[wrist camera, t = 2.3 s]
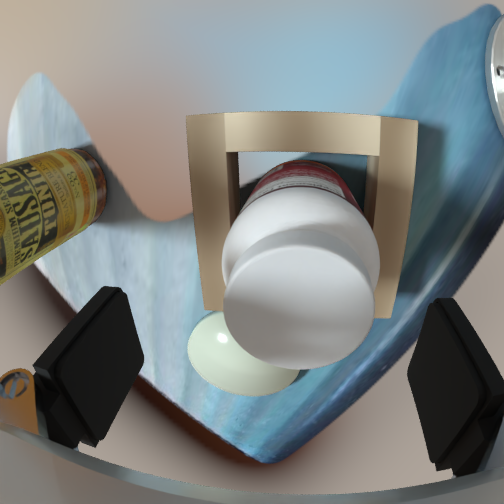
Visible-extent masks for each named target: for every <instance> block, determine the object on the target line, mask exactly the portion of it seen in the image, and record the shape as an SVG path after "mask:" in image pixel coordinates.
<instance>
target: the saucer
mask: <svg viewBox="0 0 504 504" xmlns="http://www.w3.org/2000/svg"><path fill="white" fill-rule="evenodd" d="M188 355H189V359H190V361H191V363H192V365H193V367H194V368H195V370H196V371H197V372H198V373H199V374H200V375H201V376H202V377H203V378H204V379H205V380H206V381H208V382H209V383H210V384H212V385H214V386H215V387H217V388H219V389H221V390H224V391H226V392H229V393H233V394H237V395H243V396H264V395H269V394H273V393H276V392H278V391H281V390H283V389H284V388H286V387H288V386H289V385H290V384H291V383H292V382H293V381H294V380H295V379H296V377H297V376H298V374H299V371H300V370H297V369H287V368H281V367H277V366H274V365H270V364H268V363H265V362H263V361H261V360H259V359H257V358H255V357H253V356H252V355H250V354H249V353H248V352H246V351H245V350H244V349H243V348H242V347H241V346H240V345H239V344H238V343H237V342H236V341H235V340H234V338H233V337H232V335H231V334H230V332H229V330H228V327H227V325H226V322H225V319H224V314H223V311H213V312H211V313H209V314H207V315H206V316H204V317H203V318H202V319H201V320H200V321H199V322H198V323H197V324H196V326H195V328H194V330H193V332H192V334H191V336H190V338H189V342H188Z"/></svg>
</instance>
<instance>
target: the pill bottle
mask: <svg viewBox="0 0 504 504" xmlns="http://www.w3.org/2000/svg"><path fill="white" fill-rule="evenodd" d="M379 271H380V256H379V249H378V245H377V241H376V239H375V236H374V234H373V231H372V229H371V227H370V225H369V223H368V221H367V219H366V218H365V216H364V214H363V212H362V210H361V209H360V207H359V205H358V204H357V202H356V200H355V198H354V197H353V195H352V193H351V191H350V189H349V188H348V186H347V185H346V183H345V182H344V180H343V179H342V178H341V177H340V176H339V175H338V174H337V173H336V172H335V171H333V170H332V169H331V168H329V167H327V166H325V165H323V164H321V163H318V162H315V161H310V160H293V161H288V162H285V163H282V164H280V165H278V166H276V167H274V168H272V169H271V170H270V171H268V172H267V173H266V174H265V175H264V176H263V177H262V178H261V179H260V180H259V182H258V183H257V185H256V186H255V188H254V190H253V191H252V193H251V195H250V196H249V198H248V200H247V201H246V203H245V205H244V207H243V208H242V210H241V211H240V213H239V215H238V216H237V218H236V220H235V221H234V223H233V225H232V227H231V229H230V231H229V233H228V235H227V237H226V240H225V243H224V247H223V252H222V273H223V278H224V282H225V285H226V290H225V294H224V299H223V314H224V319H225V322H226V325H227V327H228V330H229V332H230V334H231V335H232V337H233V338H234V340H235V341H236V342H237V343H238V344H239V345H240V346H241V347H242V348H243V349H244V350H245V351H246V352H248V353H249V354H250V355H252V356H253V357H255V358H257V359H259V360H261V361H263V362H265V363H268V364H270V365H274V366H277V367H281V368H287V369H297V370H301V369H313V368H319V367H323V366H327V365H330V364H332V363H335V362H337V361H339V360H341V359H343V358H345V357H346V356H348V355H349V354H351V353H352V352H353V351H354V350H355V349H357V348H358V346H359V345H360V344H361V343H362V342H363V341H364V339H365V338H366V336H367V335H368V333H369V331H370V329H371V327H372V324H373V320H374V316H375V297H374V291H375V288H376V285H377V282H378V278H379Z"/></svg>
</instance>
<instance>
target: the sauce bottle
mask: <svg viewBox="0 0 504 504" xmlns="http://www.w3.org/2000/svg"><path fill="white" fill-rule="evenodd" d="M106 194H107V187H106V180H105V179H104V173H103V171H102V170H101V167H100V166H99V165H98V163H97V162H96V160H94V158H93V157H91V155H90V154H88V153H87V152H86V151H82V150H78V149H65V148H61V149H56V150H52V151H48V152H44V153H40V154H36V155H32V156H29V157H25V158H21V159H17V160H14V161H10V162H7V163H3V164H1V165H0V285H1V284H3V283H4V282H6V281H7V280H8V279H10V278H11V277H12V276H14V275H15V274H17V273H18V272H20V271H21V270H23V269H24V268H26V267H27V266H29V265H30V264H32V263H33V262H35V261H36V260H37V259H39V258H40V257H42V256H43V255H45V254H47V253H48V252H50V251H51V250H53V249H55V248H56V247H58V246H59V245H61V244H63V243H64V242H66V241H67V240H69V239H71V238H72V237H74V236H76V235H77V234H79V233H80V232H82V231H84V230H85V229H86V228H87V227H88V226H90V225H91V224H92V223H93V222H95V221H96V220H97V219H98V217H99V216H100V215H101V214H102V211H103V209H104V207H105V203H106Z"/></svg>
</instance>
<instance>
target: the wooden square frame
mask: <svg viewBox="0 0 504 504" xmlns="http://www.w3.org/2000/svg"><path fill="white" fill-rule="evenodd" d="M186 128H187V142H188V155H189V156H188V157H189V170H190V182H191V193H192V203H193V215H194V225H195V234H196V244H197V253H198V261H199V270H200V278H201V286H202V294H203V301H204V309H205V310H212V311H223V299H224V294H225V290H226V285H225V282H224V278H223V273H222V252H223V247H224V243H225V240H226V237H227V235H228V233H229V231H230V229H231V227H232V225H233V223H234V221H235V220H236V218H237V216H238V215H239V213H240V188H239V165H238V152H250V151H253V152H254V151H281V152H284V151H285V152H322V153H343V154H359V155H367V173H366V188H365V202H364V213H363V214H364V216H365V218H366V219H367V221H368V223H369V225H370V227H371V229H372V231H373V234H374V236H375V239H376V241H377V245H378V249H379V256H380V271H379V278H378V282H377V285H376V288H375V291H374V297H375V316H374V318H391V314H392V309H393V305H394V301H395V297H396V292H397V287H398V283H399V278H400V273H401V268H402V263H403V257H404V252H405V246H406V240H407V234H408V227H409V220H410V213H411V205H412V197H413V188H414V178H415V167H416V153H417V136H418V121H416V120H409V119H402V118H394V117H385V116H375V115H363V114H350V113H332V112H308V111H259V112H258V111H257V112H256V111H255V112H231V113H213V114H200V115H189V116H186Z"/></svg>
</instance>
